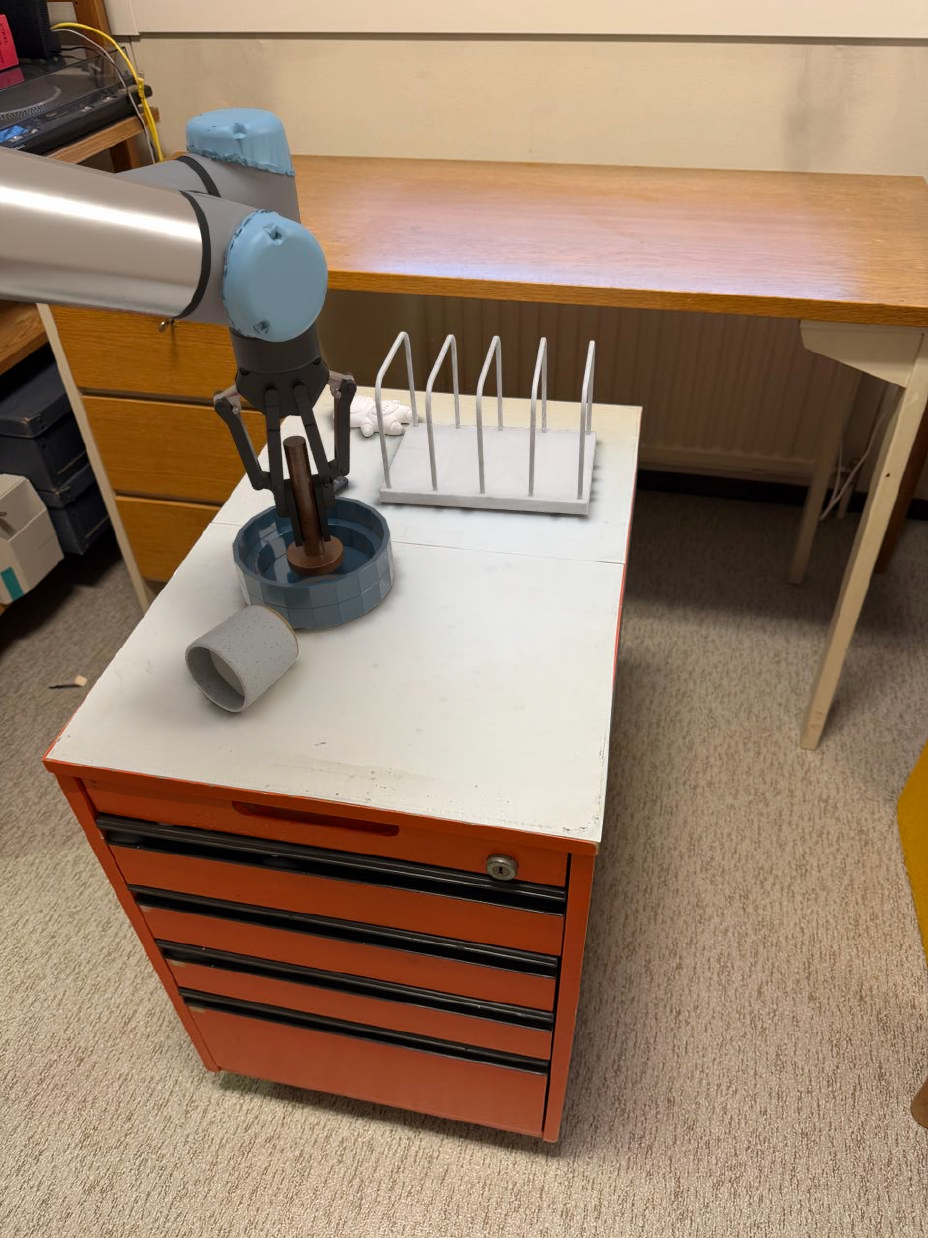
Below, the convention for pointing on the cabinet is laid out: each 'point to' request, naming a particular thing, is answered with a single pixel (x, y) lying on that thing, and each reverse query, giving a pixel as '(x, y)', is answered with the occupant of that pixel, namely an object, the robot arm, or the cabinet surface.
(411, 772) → the cabinet surface
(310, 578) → the bowl
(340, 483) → the usb stick
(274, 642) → the ceramic mug
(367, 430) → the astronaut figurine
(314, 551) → the wooden post on disc
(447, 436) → the file sorter
